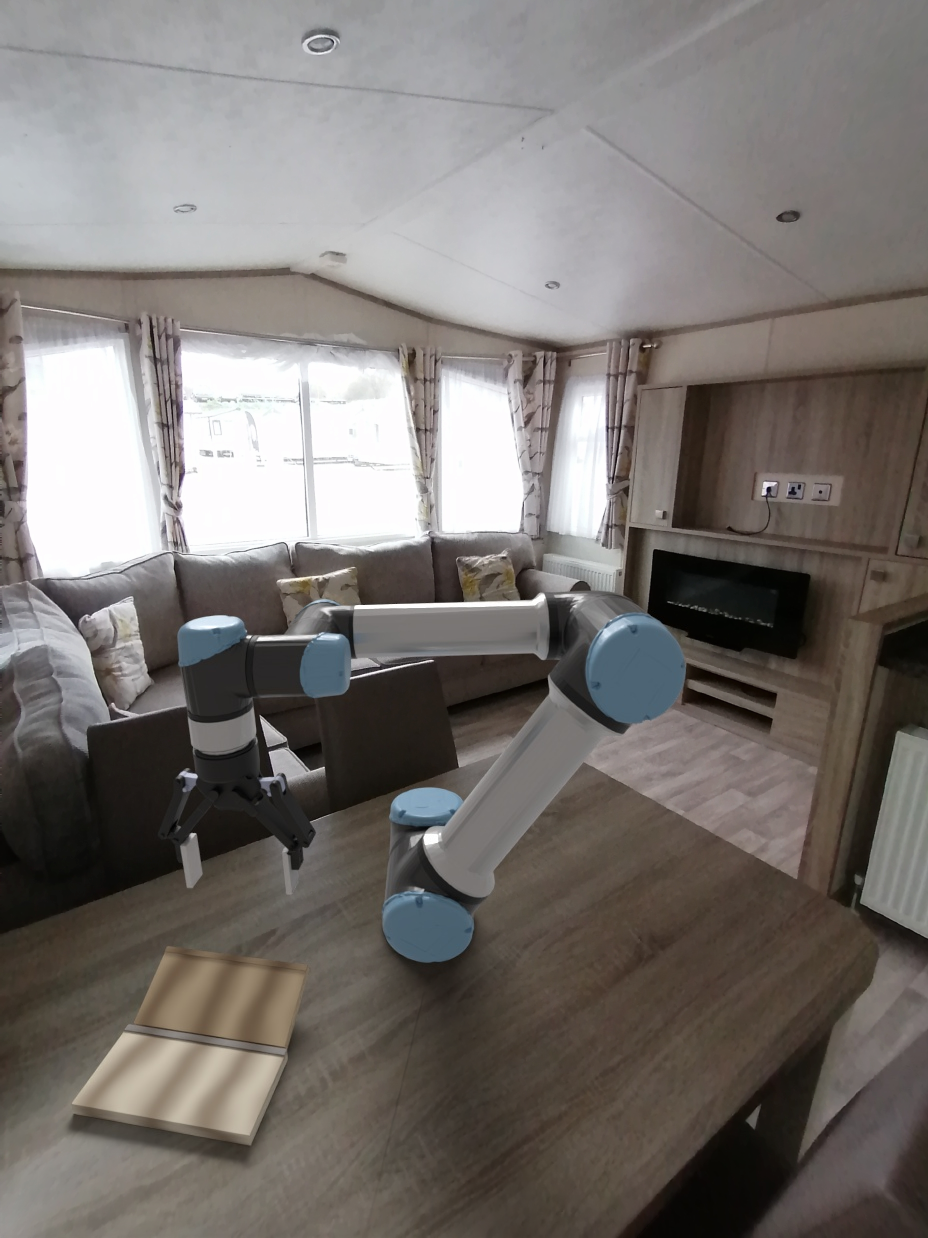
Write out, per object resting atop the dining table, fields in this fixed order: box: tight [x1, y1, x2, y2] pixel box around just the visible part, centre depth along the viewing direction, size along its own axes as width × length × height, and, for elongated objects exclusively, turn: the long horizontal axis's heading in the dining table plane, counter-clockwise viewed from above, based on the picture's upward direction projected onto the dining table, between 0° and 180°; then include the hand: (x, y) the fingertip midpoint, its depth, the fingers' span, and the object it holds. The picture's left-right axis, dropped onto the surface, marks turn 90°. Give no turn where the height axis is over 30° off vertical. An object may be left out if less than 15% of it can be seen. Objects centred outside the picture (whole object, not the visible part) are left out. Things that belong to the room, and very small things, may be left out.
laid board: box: [71, 1023, 289, 1146], centre depth 74 cm, size 22×10×2 cm, turn 82°
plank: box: [133, 945, 311, 1050], centre depth 83 cm, size 21×10×2 cm, turn 82°
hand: (243, 884), depth 81 cm, fingers open, 13 cm apart
